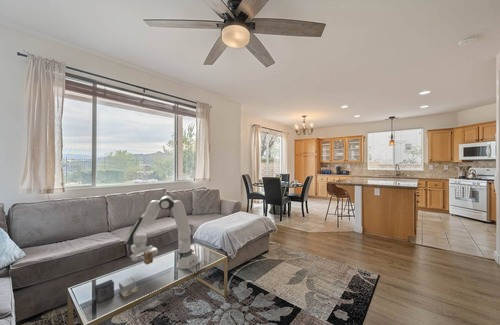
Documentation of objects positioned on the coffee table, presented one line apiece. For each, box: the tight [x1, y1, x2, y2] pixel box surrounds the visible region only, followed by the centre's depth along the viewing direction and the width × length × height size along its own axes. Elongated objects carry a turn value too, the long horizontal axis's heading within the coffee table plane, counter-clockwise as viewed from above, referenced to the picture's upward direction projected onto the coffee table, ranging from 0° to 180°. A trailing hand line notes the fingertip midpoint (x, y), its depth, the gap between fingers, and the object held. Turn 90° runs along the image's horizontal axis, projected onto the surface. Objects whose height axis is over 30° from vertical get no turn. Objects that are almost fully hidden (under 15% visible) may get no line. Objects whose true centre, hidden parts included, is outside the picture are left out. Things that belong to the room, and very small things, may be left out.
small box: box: [94, 279, 115, 304], centre depth 150 cm, size 11×6×10 cm, turn 141°
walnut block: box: [143, 250, 154, 265], centre depth 172 cm, size 5×5×9 cm
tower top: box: [118, 276, 137, 292], centre depth 158 cm, size 9×9×4 cm
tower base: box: [119, 285, 138, 298], centre depth 158 cm, size 9×9×4 cm
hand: (148, 256), depth 171 cm, fingers closed on walnut block, 5 cm apart
